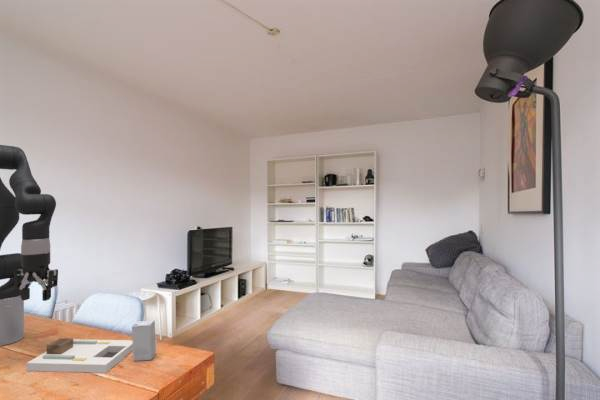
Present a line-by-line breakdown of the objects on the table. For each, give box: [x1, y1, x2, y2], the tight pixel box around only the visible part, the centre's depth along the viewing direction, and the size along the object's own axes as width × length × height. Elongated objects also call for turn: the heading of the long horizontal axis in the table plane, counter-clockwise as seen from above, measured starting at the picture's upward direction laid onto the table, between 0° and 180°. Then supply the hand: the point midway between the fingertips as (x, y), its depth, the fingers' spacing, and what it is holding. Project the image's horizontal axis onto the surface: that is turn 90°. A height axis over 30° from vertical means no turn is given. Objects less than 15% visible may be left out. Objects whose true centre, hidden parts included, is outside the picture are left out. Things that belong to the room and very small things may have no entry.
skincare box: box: [131, 320, 157, 362], centre depth 101 cm, size 6×4×12 cm
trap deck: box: [25, 338, 133, 374], centre depth 101 cm, size 26×16×3 cm, turn 87°
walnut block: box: [46, 337, 74, 354], centre depth 101 cm, size 5×5×3 cm
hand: (36, 299), depth 102 cm, fingers open, 7 cm apart
